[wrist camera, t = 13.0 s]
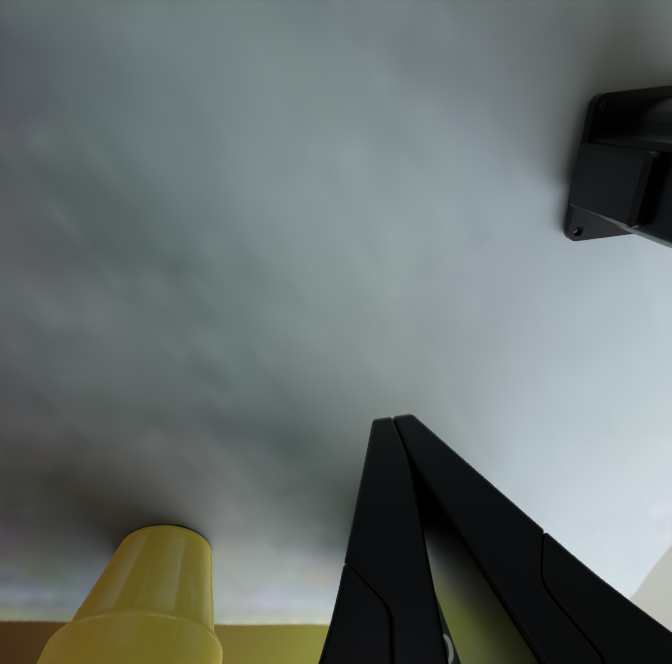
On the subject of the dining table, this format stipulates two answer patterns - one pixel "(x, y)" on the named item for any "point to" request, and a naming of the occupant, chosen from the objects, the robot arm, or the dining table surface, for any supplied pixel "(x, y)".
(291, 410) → the dining table surface
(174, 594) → the plant pot
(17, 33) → the dining table surface
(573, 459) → the dining table surface
